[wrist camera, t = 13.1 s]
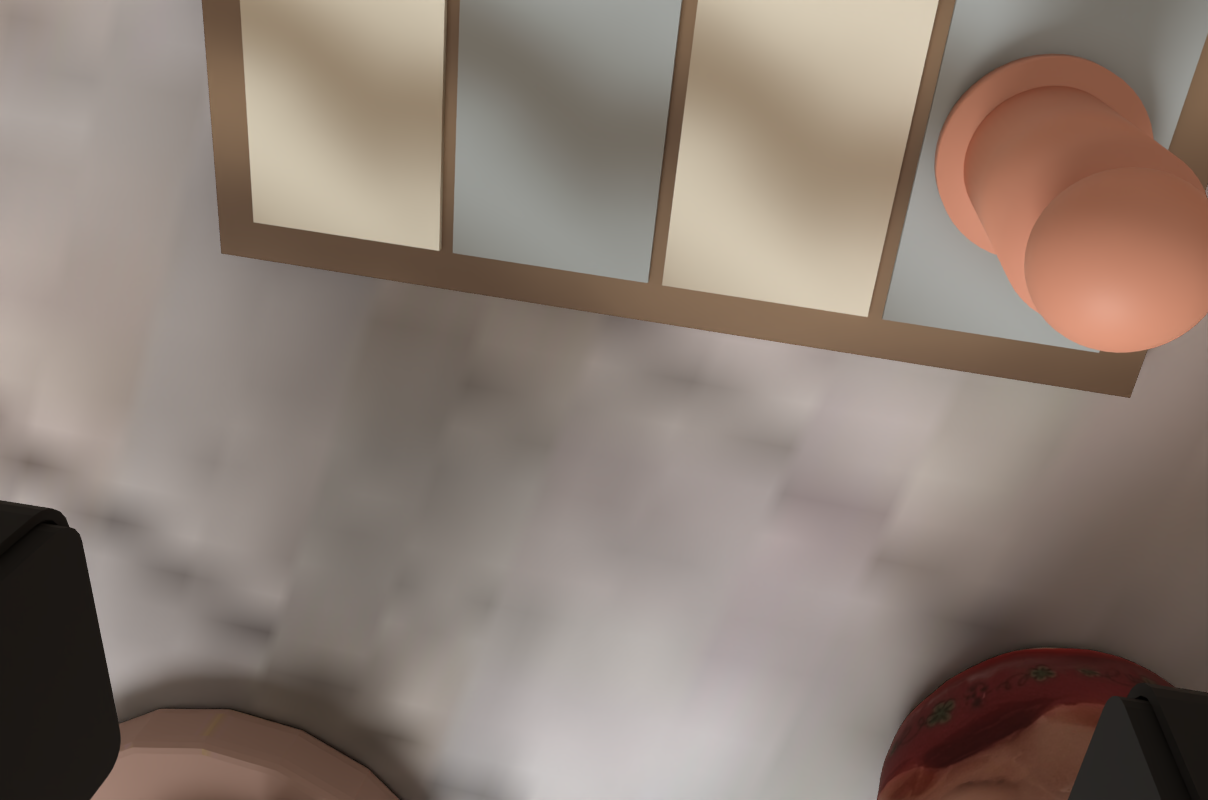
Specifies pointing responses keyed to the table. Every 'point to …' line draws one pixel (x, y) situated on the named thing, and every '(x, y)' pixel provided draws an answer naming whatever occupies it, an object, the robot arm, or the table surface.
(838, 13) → the board
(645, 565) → the table surface
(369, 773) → the wooden pedestal stand
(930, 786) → the decorative planter
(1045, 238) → the pawn
